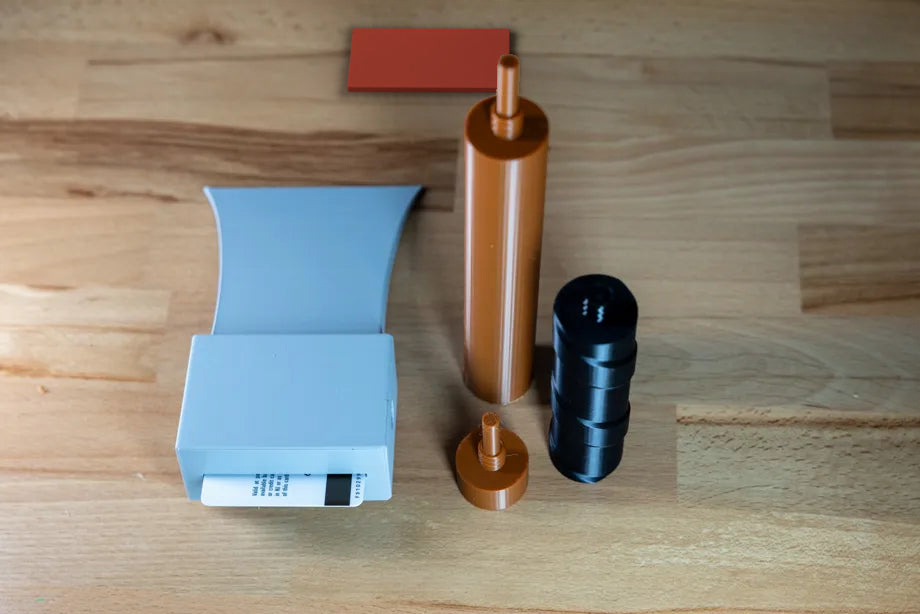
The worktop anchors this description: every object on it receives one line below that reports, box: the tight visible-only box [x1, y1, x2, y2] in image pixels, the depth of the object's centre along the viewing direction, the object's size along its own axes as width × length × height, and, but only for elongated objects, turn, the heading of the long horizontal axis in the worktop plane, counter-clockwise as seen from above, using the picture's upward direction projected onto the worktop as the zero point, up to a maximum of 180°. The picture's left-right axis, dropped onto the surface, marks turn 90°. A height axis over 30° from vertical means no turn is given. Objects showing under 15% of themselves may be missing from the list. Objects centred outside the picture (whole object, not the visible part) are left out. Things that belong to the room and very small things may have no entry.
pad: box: [347, 27, 511, 93], centre depth 119 cm, size 16×8×1 cm, turn 88°
